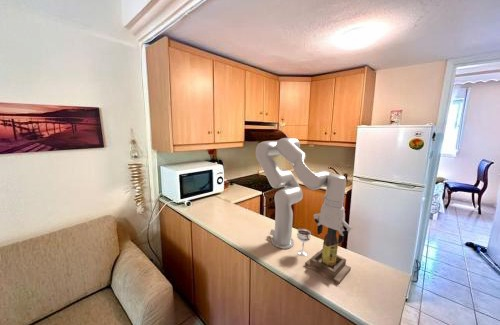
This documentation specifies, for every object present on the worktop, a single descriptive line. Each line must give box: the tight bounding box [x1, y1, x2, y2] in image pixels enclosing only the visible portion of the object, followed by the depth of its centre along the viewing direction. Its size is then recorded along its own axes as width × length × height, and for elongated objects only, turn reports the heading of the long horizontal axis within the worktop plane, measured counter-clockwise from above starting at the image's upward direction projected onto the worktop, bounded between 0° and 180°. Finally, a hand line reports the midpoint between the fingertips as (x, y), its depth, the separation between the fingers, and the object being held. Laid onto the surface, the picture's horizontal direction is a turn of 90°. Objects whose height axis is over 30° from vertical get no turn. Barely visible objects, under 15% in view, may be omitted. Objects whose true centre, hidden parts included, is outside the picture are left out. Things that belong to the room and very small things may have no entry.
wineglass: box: [297, 228, 312, 257], centre depth 104 cm, size 7×7×12 cm
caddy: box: [304, 248, 352, 285], centre depth 94 cm, size 16×13×4 cm
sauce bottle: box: [321, 227, 339, 268], centre depth 93 cm, size 6×6×20 cm
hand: (329, 237), depth 92 cm, fingers open, 9 cm apart
